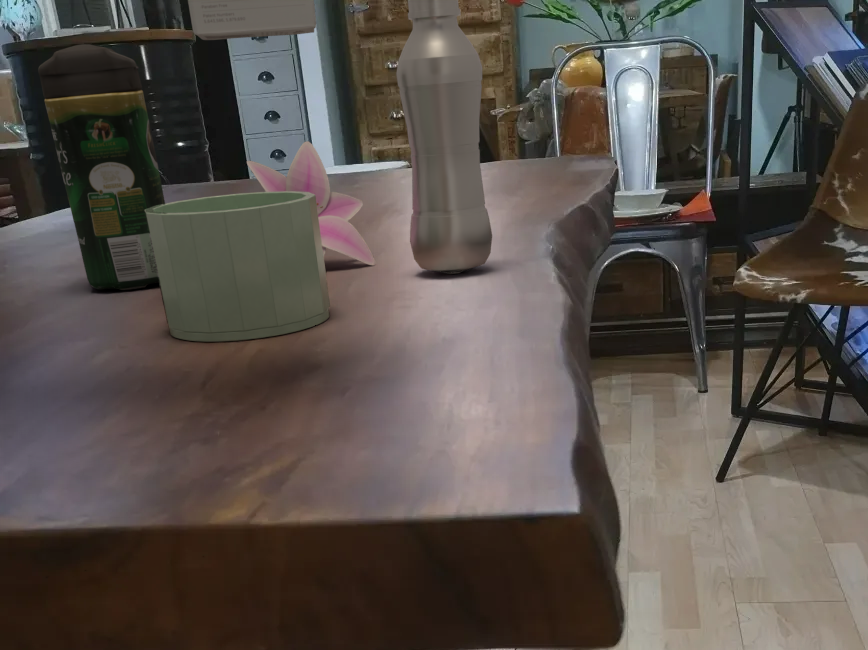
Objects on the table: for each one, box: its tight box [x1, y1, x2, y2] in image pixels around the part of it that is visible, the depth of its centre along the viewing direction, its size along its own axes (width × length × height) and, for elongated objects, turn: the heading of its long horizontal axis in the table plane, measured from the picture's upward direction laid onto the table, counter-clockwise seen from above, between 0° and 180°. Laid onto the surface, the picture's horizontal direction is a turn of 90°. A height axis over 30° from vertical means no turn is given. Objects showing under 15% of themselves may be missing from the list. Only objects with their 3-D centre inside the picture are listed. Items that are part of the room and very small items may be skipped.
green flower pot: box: [144, 191, 331, 343], centre depth 76 cm, size 11×11×8 cm
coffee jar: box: [37, 43, 166, 291], centre depth 93 cm, size 10×8×19 cm
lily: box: [246, 140, 376, 266], centre depth 96 cm, size 12×12×10 cm
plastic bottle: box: [395, 0, 493, 275], centre depth 86 cm, size 6×7×20 cm
